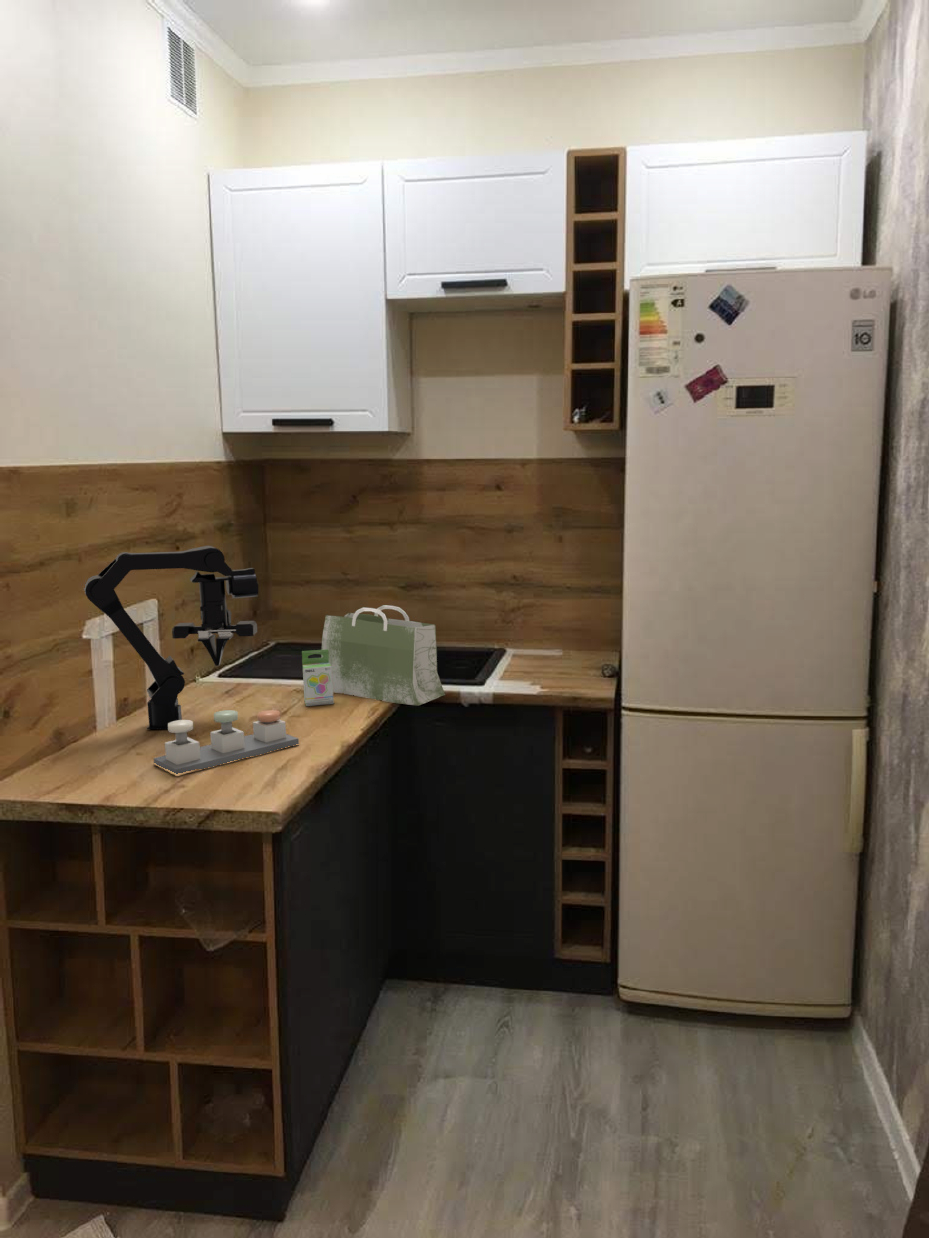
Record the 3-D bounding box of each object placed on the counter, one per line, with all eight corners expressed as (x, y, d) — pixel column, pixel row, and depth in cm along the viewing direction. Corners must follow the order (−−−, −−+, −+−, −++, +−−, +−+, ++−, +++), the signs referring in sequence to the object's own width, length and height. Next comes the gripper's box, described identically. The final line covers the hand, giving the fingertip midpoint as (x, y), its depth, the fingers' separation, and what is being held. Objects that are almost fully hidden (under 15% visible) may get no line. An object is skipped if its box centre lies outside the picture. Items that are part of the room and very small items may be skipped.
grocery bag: (448, 694, 243) (445, 605, 239) (417, 706, 231) (414, 613, 227) (351, 680, 260) (347, 597, 256) (318, 691, 248) (313, 605, 244)
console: (154, 765, 191) (152, 741, 190) (274, 735, 209) (272, 713, 209) (176, 776, 184) (174, 752, 183) (298, 745, 202) (297, 722, 201)
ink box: (305, 706, 233) (302, 654, 231) (304, 703, 237) (301, 651, 235) (333, 704, 235) (331, 651, 233) (331, 700, 239) (329, 648, 236)
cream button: (165, 745, 189) (163, 723, 188) (187, 740, 192) (186, 718, 192) (176, 750, 186) (174, 727, 185) (198, 745, 189) (196, 722, 188)
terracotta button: (254, 733, 203) (253, 713, 202) (273, 729, 206) (272, 708, 205) (265, 738, 199) (264, 717, 199) (285, 733, 202) (284, 712, 202)
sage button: (211, 734, 196) (209, 713, 195) (231, 729, 199) (230, 708, 198) (222, 739, 192) (220, 717, 192) (243, 734, 196) (241, 713, 195)
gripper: (259, 594, 228) (263, 657, 230) (181, 596, 227) (186, 659, 230) (250, 600, 217) (255, 667, 219) (169, 603, 216) (174, 669, 219)
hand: (217, 665), depth 222 cm, fingers closed
